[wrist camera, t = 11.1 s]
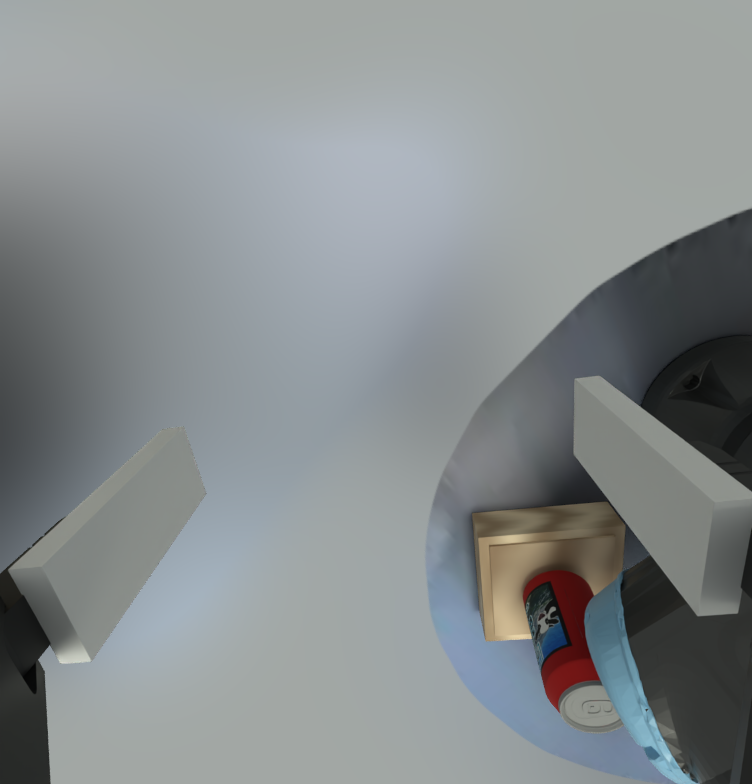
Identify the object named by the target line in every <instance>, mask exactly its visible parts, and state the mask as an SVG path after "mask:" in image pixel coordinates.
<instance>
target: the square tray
mask: <svg viewBox="0 0 752 784" xmlns="http://www.w3.org/2000/svg"><path fill="white" fill-rule="evenodd" d="M472 518H473V531H474V545H475V558H476V571H477V585H478V598H479V611H480V616H481V621H482V626H483V631H484V635H485V640H486V641H501V640H517V639H532V636H531V632H530V628H529V624H528V620H527V615H526V611H525V607H524V602H523V592H524V589H525V587H526V585H527V584H528V582H529V581H530V580H531V579H533V578H534V577H535V576H537V575H539V574H541V573H544V572H547V571H553V570H564V571H569V572H573V573H575V574H577V575H579V576H581V577H582V578H583V579H585V580H586V581H587V583H588V584H589V585H590V587H591V589H592V592H593V594H594V596H595V595H596V594H598V593H599V592H600V591H601V590H603V589H604V588H605V587H606V586H608V585H609V584H610V583H612V582H613V581H614V580H615V579H617V576H618V574H619V573H620V572H621V571H622V570H623V555H624V541H625V524H624V523H623V522H622V520H621V519H620V518H619V516H618V515H617V514H616V512H615V511H614V510H613V508H612V507H611V506H610V504H609V503H608V502H595V503H584V504H572V505H561V506H549V507H537V508H526V509H514V510H503V511H491V512H480V513H472Z"/></svg>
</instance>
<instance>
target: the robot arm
mask: <svg viewBox="0 0 752 784" xmlns="http://www.w3.org/2000/svg"><path fill="white" fill-rule="evenodd" d="M574 455H575V457H576V458H577V459H578V461H579V462H580V463H581V464H582V466H583V467H584V468H585V470H586V471H587V472H588V474H589V475H590V476H591V478H592V479H593V480H594V481H595V483H596V484H597V485H598V487H599V488H600V489H601V491H602V492H603V493H604V495H605V496H606V497H607V499H608V500H609V501H610V502H611V504H612V505H613V506H614V508H615V509H616V510H617V512H618V513H619V514H620V516H621V517H622V518H623V519H624V521H625V522H626V523H627V525H628V526H629V527H630V529H631V530H632V531H633V533H634V534H635V535H636V536H637V538H638V539H639V540H640V542H641V543H642V544H643V546H644V547H645V548H646V550H647V551H648V552H649V553H650V556H648V557H647V558H645V559H644V560H643V561H641V562H640V563H638V564H637V565H635V566H634V567H632V568H631V569H625V570H622V571H621V572H620V573H619V574H618V576H617V579H615V580H614V581H613V582H612V583H610V584H609V585H608V586H606V587H605V588H604V589H603V590H601V591H600V592H599V593H598V594H596V595H595V596H594V597H593V598H592V599H591V600H590V601H589V603H588V605H587V607H586V610H585V619H584V624H585V635H586V640H587V644H588V648H589V651H590V654H591V657H592V660H593V663H594V666H595V668H596V671H597V673H598V676H599V678H600V680H601V682H602V685H603V687H604V689H605V691H606V693H607V695H608V697H609V699H610V701H611V703H612V705H613V706H614V708H615V710H616V712H617V714H618V715H619V717H620V719H621V721H622V722H623V724H624V725H625V727H626V729H627V730H628V732H629V733H630V735H631V736H632V738H633V739H634V740H635V742H636V743H637V744H638V745H640V746H642V747H643V749H644V751H645V753H646V755H647V757H648V759H649V760H650V761H651V763H652V764H653V765H654V766H655V767H656V768H657V769H658V770H659V771H660V772H661V773H662V774H663V775H664V776H666V777H667V778H669V779H670V780H672V781H674V782H675V783H679V784H698V783H700V784H752V336H731V337H725V338H720V339H716V340H713V341H710V342H707V343H704V344H702V345H700V346H698V347H696V348H694V349H692V350H690V351H688V352H686V353H685V354H683V355H682V356H680V357H679V358H678V359H676V360H675V361H674V362H672V363H671V364H670V365H669V366H668V367H667V368H666V369H665V370H664V371H663V372H662V373H661V374H660V375H659V376H658V378H657V379H656V380H655V381H654V383H653V384H652V386H651V387H650V389H649V391H648V392H647V394H646V396H645V399H644V401H643V404H642V406H641V407H640V406H639V405H637V404H636V403H635V402H633V401H632V400H631V399H629V398H628V397H627V396H625V395H624V394H623V393H621V392H620V391H619V390H618V389H616V388H615V387H614V386H612V385H611V384H610V383H608V382H607V381H606V380H604V379H603V378H602V377H600V376H593V377H585V378H576V379H575V387H574ZM205 495H206V491H205V488H204V485H203V482H202V479H201V476H200V473H199V470H198V467H197V464H196V461H195V458H194V455H193V452H192V449H191V447H190V443H189V440H188V437H187V434H186V431H185V428H184V427H177V428H167V429H162V430H161V431H160V432H159V433H158V434H157V435H156V436H155V437H154V438H153V439H152V440H150V441H149V442H148V443H147V444H146V445H145V446H144V447H143V448H141V450H139V451H138V452H137V453H136V454H135V455H134V456H133V457H132V458H130V460H128V461H127V462H126V463H125V464H124V465H123V466H122V467H121V468H119V469H118V470H117V471H116V472H115V473H114V474H113V475H112V476H111V477H110V478H108V479H107V480H106V481H105V482H104V483H103V484H102V485H101V486H100V487H99V488H97V489H96V490H95V491H94V492H93V493H92V494H91V495H90V496H89V497H88V498H86V499H85V500H84V501H83V502H82V503H81V504H80V505H79V506H78V507H76V508H75V509H74V510H73V511H72V512H71V513H70V514H69V515H67V516H66V517H64V518H63V519H61V520H60V521H58V522H57V523H56V524H55V525H54V526H53V527H52V528H50V529H49V530H48V531H47V532H46V533H45V535H44V536H42V537H40V538H39V539H38V540H37V541H36V542H35V543H34V544H33V545H32V547H31V548H28V549H27V550H26V551H25V552H24V553H23V554H22V555H20V557H18V558H17V559H16V560H15V561H14V562H13V563H12V564H10V565H9V566H8V567H7V568H6V569H5V570H4V571H3V572H2V573H1V574H0V784H50V766H49V748H48V729H47V709H46V691H45V675H44V674H45V672H44V670H43V668H42V666H41V664H40V662H39V661H38V659H39V658H40V656H41V655H42V654H43V653H44V651H45V650H46V649H47V648H48V646H49V645H50V646H51V648H52V649H53V651H54V653H55V655H56V656H57V658H58V660H59V662H60V664H65V663H78V662H91V661H92V660H93V659H94V657H95V656H96V654H97V653H98V651H99V650H100V649H101V647H102V646H103V644H104V643H105V641H106V640H107V638H108V637H109V635H110V634H111V633H112V631H113V629H114V628H115V627H116V625H117V624H118V622H119V621H120V619H121V618H122V616H123V615H124V613H125V612H126V610H127V609H128V608H129V606H130V605H131V603H132V602H133V600H134V599H135V597H136V596H137V594H138V593H139V592H140V590H141V589H142V587H143V586H144V584H145V583H146V581H147V580H148V578H149V577H150V576H151V574H152V573H153V571H154V570H155V568H156V567H157V565H158V564H159V562H160V561H161V559H162V558H163V557H164V555H165V554H166V552H167V550H168V549H169V548H170V546H171V545H172V543H173V542H174V540H175V539H176V537H177V536H178V535H179V533H180V532H181V530H182V529H183V527H184V526H185V524H186V523H187V521H188V520H189V518H190V517H191V516H192V514H193V512H194V511H195V510H196V508H197V507H198V505H199V504H200V502H201V501H202V499H203V498H204V497H205Z"/></svg>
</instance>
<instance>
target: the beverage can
mask: <svg viewBox="0 0 752 784" xmlns="http://www.w3.org/2000/svg"><path fill="white" fill-rule="evenodd" d="M593 597H594V594H593V592H592V589H591V587H590V585H589V584H588V583H587V581H586V580H585V579H583V578H582V577H581V576H579V575H577V574H575V573H573V572H569V571H564V570H553V571H547V572H544V573H541V574H539V575H537V576H535V577H534V578H533V579H531V580H530V581H529V582H528V584H527V585H526V587H525V589H524V592H523V602H524V607H525V611H526V615H527V620H528V624H529V628H530V632H531V636H532V641H533V645H534V649H535V653H536V657H537V661H538V665H539V669H540V672H541V676H542V680H543V684H544V688H545V692H546V695H547V697H548V699H549V701H550V702H551V704H552V705H553V706H554V707H555V708H556V709H557V710H558V712H559V713H560V714H561V717H562V718H563V720H564V721H565V722H566V723H567V724H568V725H569V726H571V727H572V728H574V729H577V730H579V731H582V732H587V733H606V732H611V731H614V730H616V729H619V728H620V727H622V726H624V724H623V722H622V721H621V719H620V717H619V715H618V714H617V712H616V710H615V708H614V706H613V705H612V703H611V701H610V699H609V697H608V695H607V693H606V691H605V689H604V687H603V685H602V682H601V680H600V678H599V676H598V673H597V671H596V668H595V666H594V663H593V660H592V657H591V654H590V651H589V648H588V644H587V640H586V635H585V624H584V619H585V610H586V607H587V605H588V603H589V601H590V600H591V599H592V598H593Z"/></svg>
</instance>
